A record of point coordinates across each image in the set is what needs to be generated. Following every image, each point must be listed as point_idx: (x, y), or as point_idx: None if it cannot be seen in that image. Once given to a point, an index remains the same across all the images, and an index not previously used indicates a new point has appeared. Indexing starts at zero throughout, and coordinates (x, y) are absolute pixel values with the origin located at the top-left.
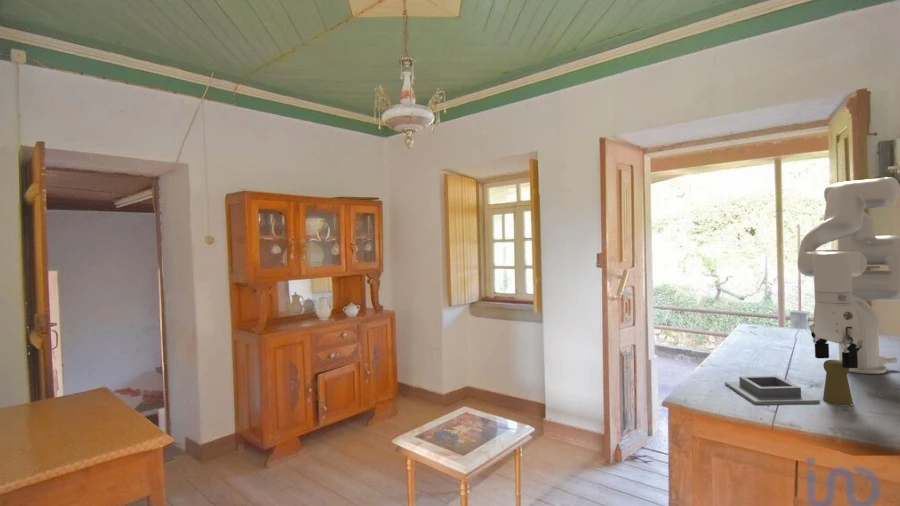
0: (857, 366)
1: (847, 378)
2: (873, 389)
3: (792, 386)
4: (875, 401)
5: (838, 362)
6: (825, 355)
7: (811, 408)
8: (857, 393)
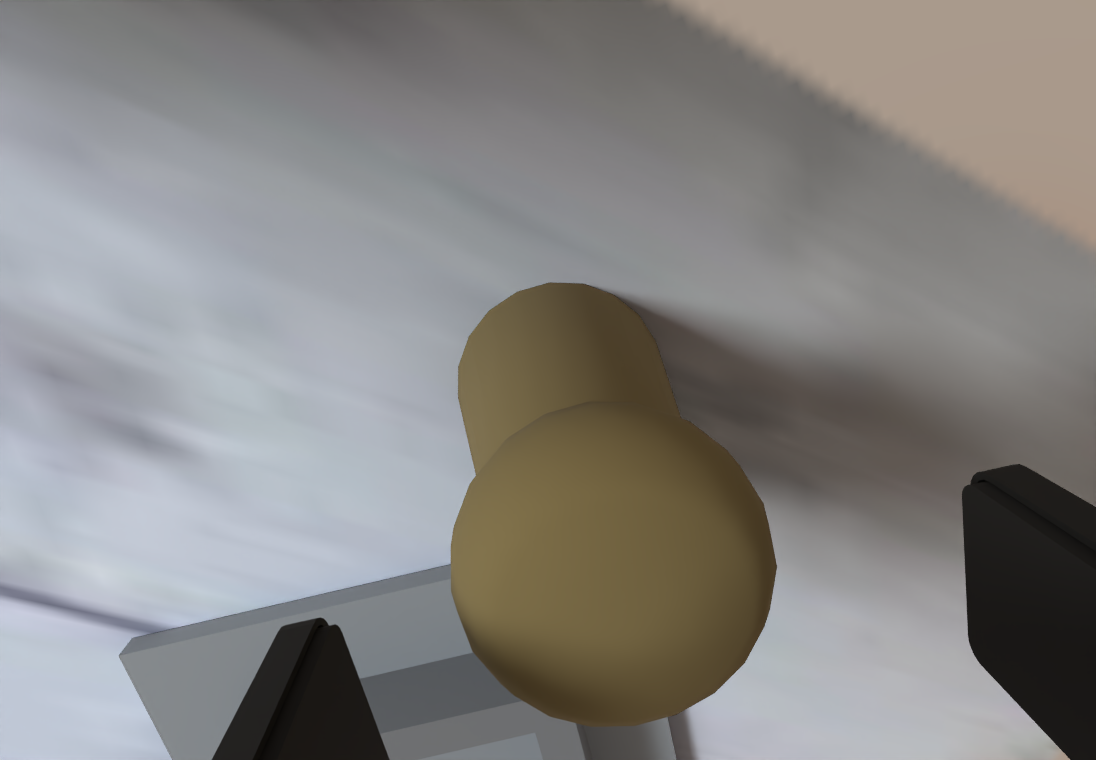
0: (1029, 474)
1: (648, 399)
2: None
3: (542, 737)
4: (501, 60)
5: (719, 621)
6: (340, 701)
7: None
8: (272, 112)
